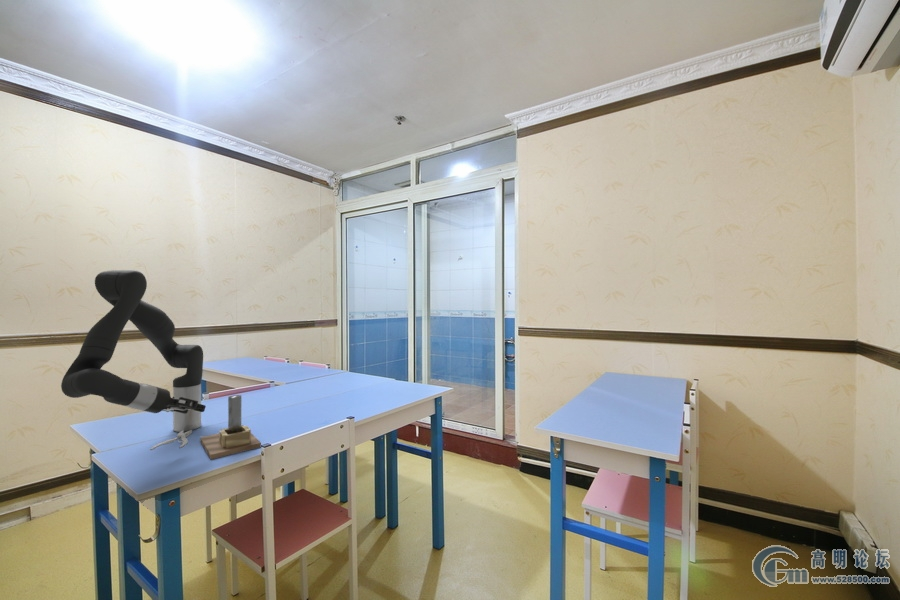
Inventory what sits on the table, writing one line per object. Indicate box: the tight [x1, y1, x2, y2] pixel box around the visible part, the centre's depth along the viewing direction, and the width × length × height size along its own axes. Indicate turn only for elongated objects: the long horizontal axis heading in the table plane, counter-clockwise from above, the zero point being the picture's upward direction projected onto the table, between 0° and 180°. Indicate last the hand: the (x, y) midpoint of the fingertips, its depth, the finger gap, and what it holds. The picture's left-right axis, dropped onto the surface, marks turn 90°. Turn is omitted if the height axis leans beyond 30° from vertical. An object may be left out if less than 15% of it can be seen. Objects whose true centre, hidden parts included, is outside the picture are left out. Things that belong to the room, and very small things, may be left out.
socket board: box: [199, 424, 262, 460], centre depth 133 cm, size 20×15×6 cm
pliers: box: [150, 430, 193, 451], centre depth 136 cm, size 10×2×15 cm
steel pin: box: [227, 394, 242, 434], centre depth 131 cm, size 4×4×16 cm
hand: (195, 409), depth 128 cm, fingers open, 8 cm apart
